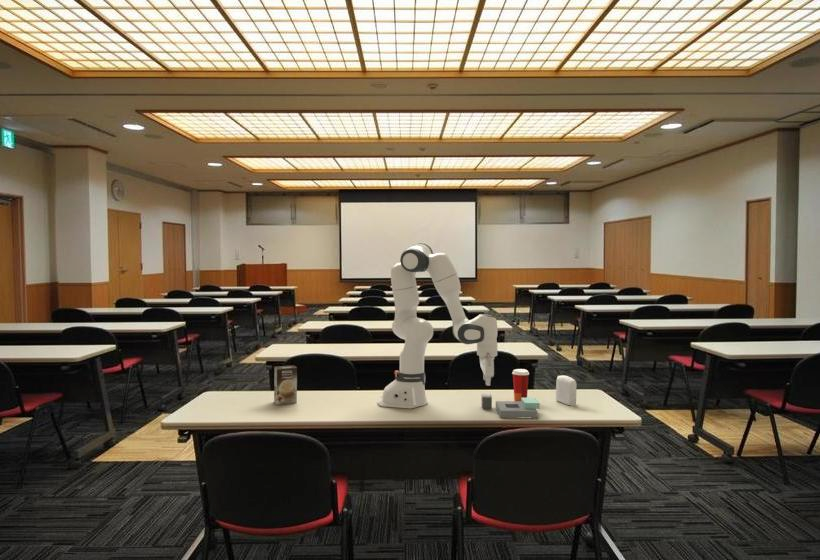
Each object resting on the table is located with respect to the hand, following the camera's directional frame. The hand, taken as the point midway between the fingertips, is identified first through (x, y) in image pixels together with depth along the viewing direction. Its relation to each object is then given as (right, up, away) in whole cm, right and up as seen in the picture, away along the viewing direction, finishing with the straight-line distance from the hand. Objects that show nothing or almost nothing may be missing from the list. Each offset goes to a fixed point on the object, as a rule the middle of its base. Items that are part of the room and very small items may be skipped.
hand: (486, 382), depth 218 cm
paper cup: (+17, -11, +12) cm, 24 cm away
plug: (0, -11, 0) cm, 11 cm away
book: (+37, -11, +8) cm, 40 cm away
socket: (+11, -11, -7) cm, 17 cm away
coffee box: (-90, -11, +7) cm, 91 cm away
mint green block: (+17, -8, -7) cm, 21 cm away
